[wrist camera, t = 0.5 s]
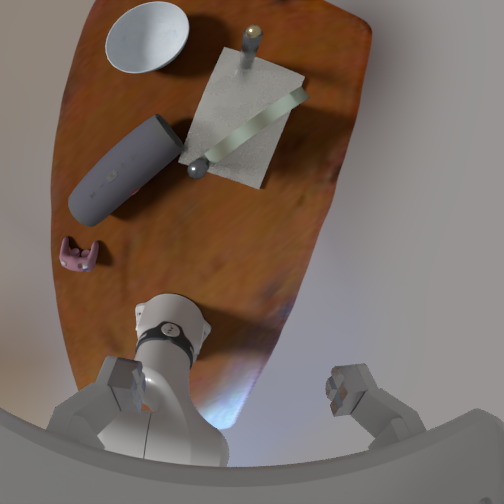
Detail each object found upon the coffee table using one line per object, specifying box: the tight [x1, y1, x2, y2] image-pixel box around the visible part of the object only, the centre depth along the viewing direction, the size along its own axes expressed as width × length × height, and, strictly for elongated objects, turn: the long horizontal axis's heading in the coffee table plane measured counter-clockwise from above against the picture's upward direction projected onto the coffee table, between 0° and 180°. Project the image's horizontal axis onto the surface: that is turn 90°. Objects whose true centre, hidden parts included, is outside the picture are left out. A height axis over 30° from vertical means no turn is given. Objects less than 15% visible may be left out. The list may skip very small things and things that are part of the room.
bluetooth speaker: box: [68, 114, 184, 227], centre depth 44 cm, size 23×9×10 cm, turn 124°
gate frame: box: [178, 25, 305, 189], centre depth 37 cm, size 24×16×19 cm, turn 159°
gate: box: [204, 86, 310, 166], centre depth 39 cm, size 16×2×14 cm, turn 127°
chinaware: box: [106, 2, 189, 74], centre depth 35 cm, size 15×15×8 cm
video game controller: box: [60, 237, 99, 272], centre depth 51 cm, size 10×5×7 cm, turn 80°
